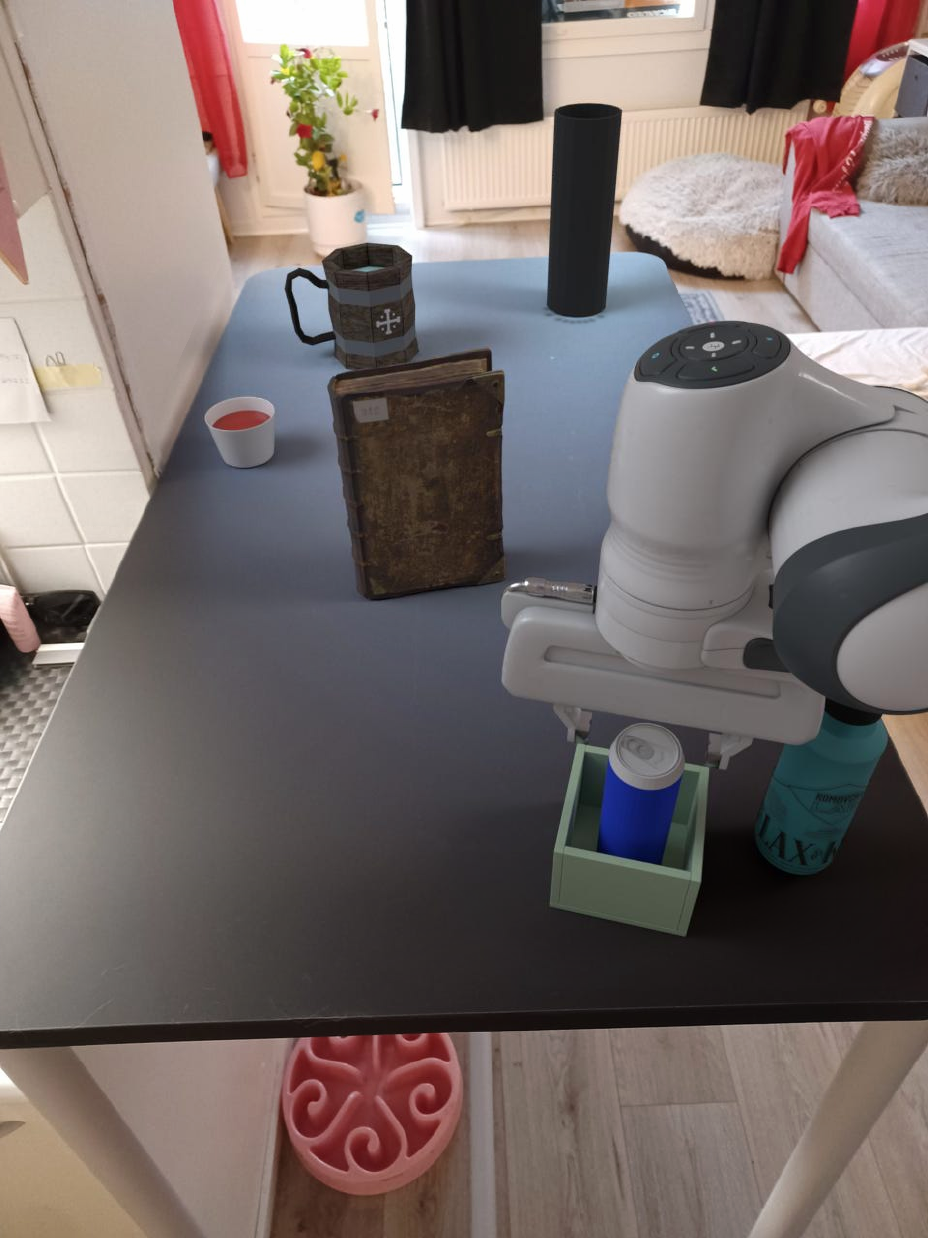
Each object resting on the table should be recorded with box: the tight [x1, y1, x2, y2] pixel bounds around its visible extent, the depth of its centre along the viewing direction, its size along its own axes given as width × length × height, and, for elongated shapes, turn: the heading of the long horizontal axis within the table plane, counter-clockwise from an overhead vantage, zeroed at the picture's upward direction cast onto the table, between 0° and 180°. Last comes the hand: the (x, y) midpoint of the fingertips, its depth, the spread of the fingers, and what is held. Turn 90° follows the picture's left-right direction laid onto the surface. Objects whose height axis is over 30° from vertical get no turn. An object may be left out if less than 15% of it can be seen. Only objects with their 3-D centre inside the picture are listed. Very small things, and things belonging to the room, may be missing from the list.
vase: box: [546, 102, 623, 318], centre depth 144 cm, size 10×10×30 cm
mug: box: [284, 242, 420, 371], centre depth 137 cm, size 20×14×15 cm
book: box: [326, 346, 507, 600], centre depth 91 cm, size 17×7×25 cm, turn 99°
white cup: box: [204, 396, 276, 469], centre depth 118 cm, size 9×9×6 cm
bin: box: [549, 743, 710, 938], centre depth 69 cm, size 10×10×8 cm
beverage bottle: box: [752, 697, 889, 876], centre depth 65 cm, size 6×7×20 cm
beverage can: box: [596, 722, 686, 866], centre depth 66 cm, size 5×5×15 cm
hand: (646, 748), depth 62 cm, fingers open, 8 cm apart
